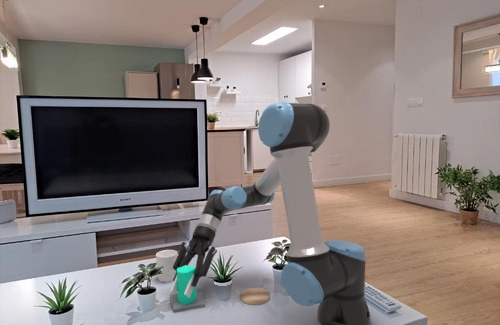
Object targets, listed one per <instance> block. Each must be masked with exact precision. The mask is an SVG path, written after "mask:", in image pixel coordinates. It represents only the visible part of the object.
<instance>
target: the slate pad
mask: <svg viewBox="0 0 500 325" xmlns="http://www.w3.org/2000/svg"><path fill="white" fill-rule="evenodd" d="M169 299H170V305H171V307H172V311H173V313H179V312H184V311H189V310H190V311H191V310H193V309H194V310H196V309H200V308H206V302H205V300H204V298H203V296H202V293H201V292H200V290H199V289H198V290H197V289H196V300H195V301H194V302H192V303H189V304H183V303H180V302H179V301H178V293H176V294H170V295H169Z"/></svg>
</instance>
